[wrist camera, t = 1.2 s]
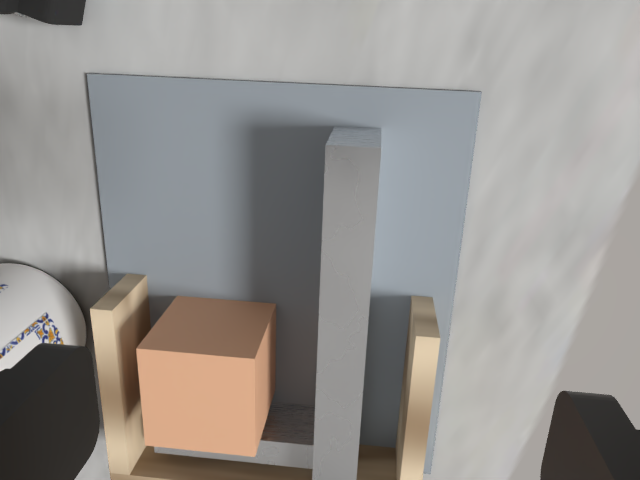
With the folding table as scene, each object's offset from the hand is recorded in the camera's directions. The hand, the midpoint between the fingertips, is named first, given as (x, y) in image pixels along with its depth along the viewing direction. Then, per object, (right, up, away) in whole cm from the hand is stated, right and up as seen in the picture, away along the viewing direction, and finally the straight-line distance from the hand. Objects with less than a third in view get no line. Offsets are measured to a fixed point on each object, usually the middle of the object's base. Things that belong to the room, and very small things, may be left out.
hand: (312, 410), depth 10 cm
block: (-5, -2, +19) cm, 20 cm away
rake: (-2, +1, +18) cm, 18 cm away
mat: (-2, 0, +18) cm, 18 cm away
